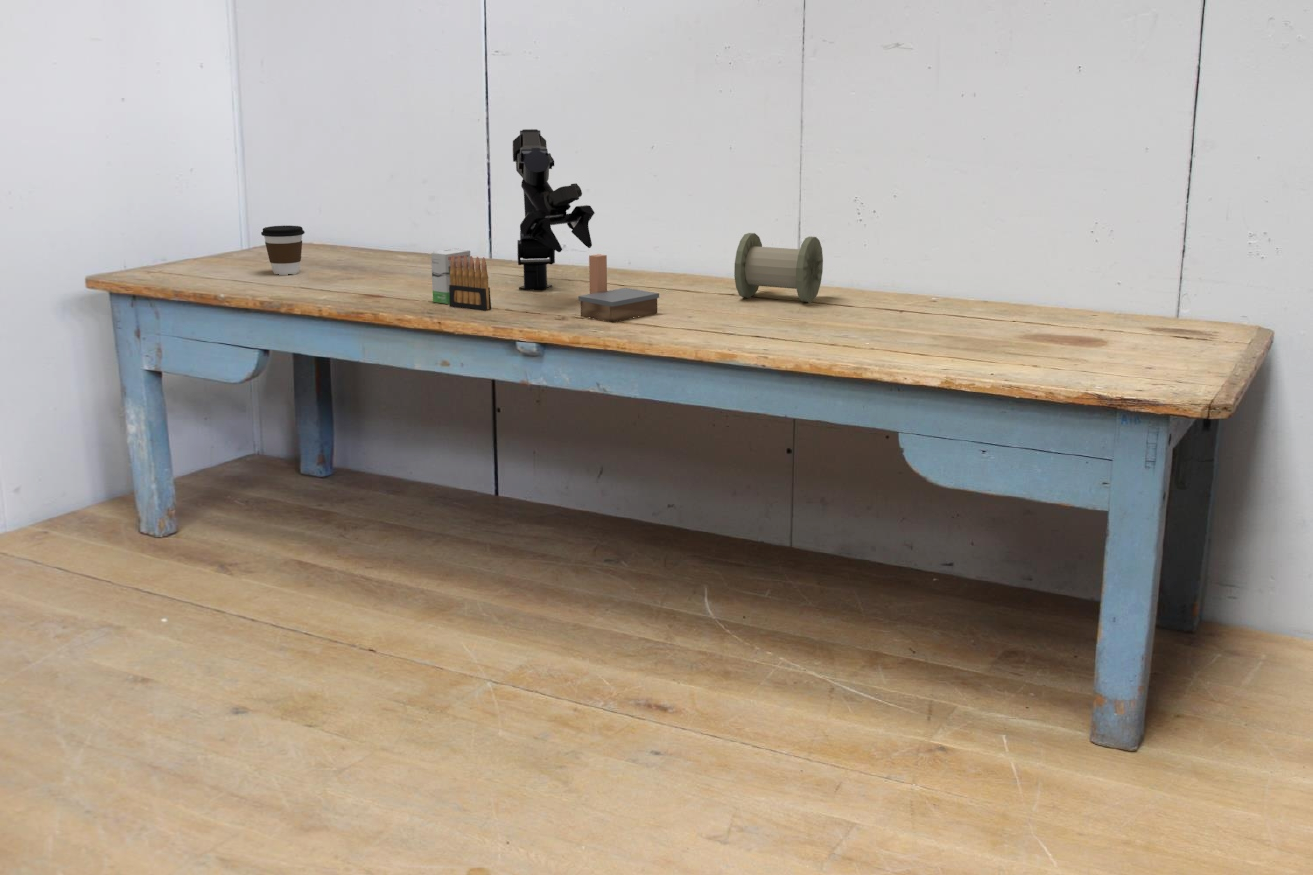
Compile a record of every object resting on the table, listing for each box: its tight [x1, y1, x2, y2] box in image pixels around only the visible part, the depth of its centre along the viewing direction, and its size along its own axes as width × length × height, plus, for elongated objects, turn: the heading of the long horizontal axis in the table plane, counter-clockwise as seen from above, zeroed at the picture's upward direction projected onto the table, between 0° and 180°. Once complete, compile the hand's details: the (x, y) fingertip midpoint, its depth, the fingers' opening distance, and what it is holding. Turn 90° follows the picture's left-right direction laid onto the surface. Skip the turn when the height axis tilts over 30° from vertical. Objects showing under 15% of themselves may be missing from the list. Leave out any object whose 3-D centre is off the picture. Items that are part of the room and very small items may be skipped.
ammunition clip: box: [448, 254, 492, 312], centre depth 293 cm, size 11×2×12 cm, turn 60°
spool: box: [733, 232, 824, 304], centre depth 303 cm, size 16×15×15 cm
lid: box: [577, 253, 660, 307], centre depth 285 cm, size 13×15×9 cm
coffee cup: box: [261, 225, 306, 276], centre depth 340 cm, size 11×11×12 cm
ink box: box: [430, 248, 471, 305], centre depth 302 cm, size 9×5×12 cm, turn 144°
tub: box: [579, 298, 658, 323], centre depth 286 cm, size 10×14×4 cm
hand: (575, 249), depth 292 cm, fingers open, 9 cm apart
